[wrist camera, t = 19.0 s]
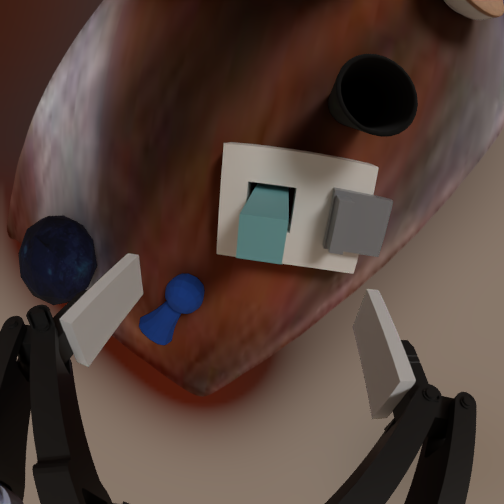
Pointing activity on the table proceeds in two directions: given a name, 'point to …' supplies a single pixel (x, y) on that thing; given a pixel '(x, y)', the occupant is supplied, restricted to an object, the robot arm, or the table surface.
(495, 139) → the table surface
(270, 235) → the plug
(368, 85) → the cup
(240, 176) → the socket box
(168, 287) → the toy
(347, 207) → the plate
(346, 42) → the table surface
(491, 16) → the lidded jar
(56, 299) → the decorative orb
